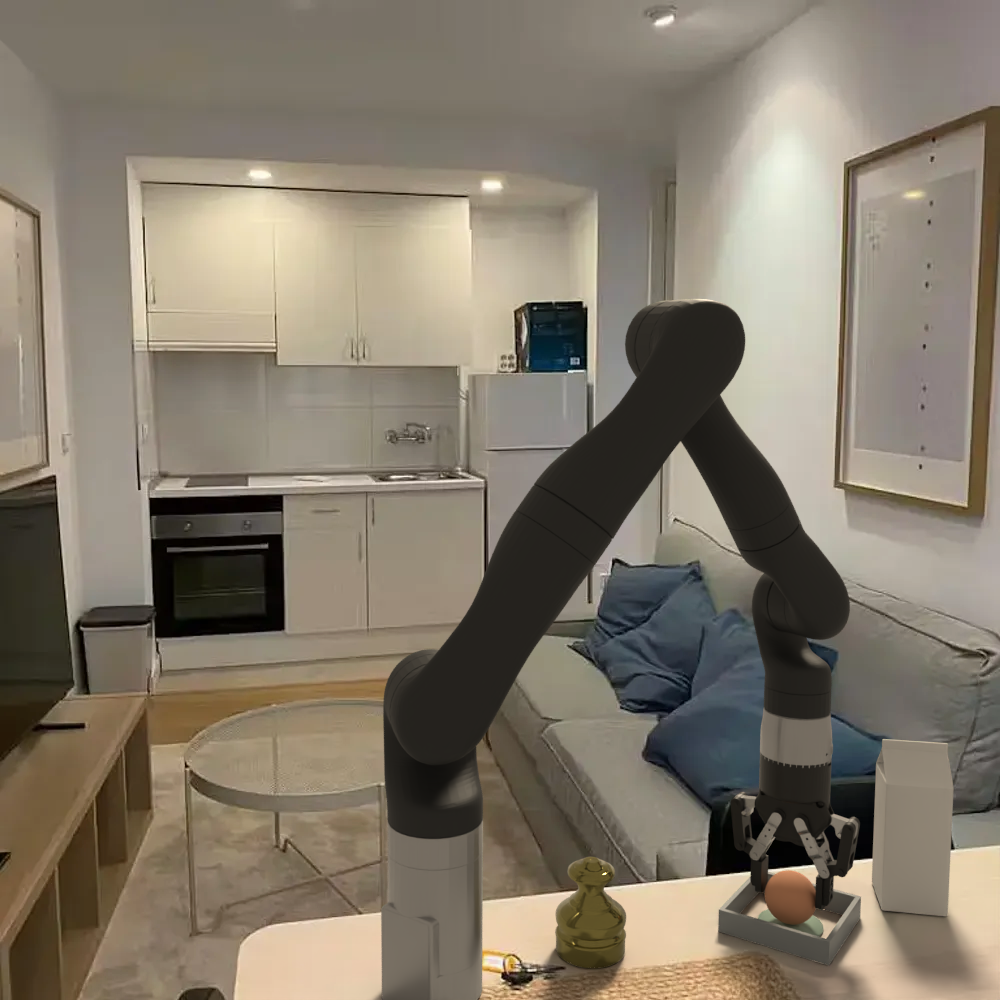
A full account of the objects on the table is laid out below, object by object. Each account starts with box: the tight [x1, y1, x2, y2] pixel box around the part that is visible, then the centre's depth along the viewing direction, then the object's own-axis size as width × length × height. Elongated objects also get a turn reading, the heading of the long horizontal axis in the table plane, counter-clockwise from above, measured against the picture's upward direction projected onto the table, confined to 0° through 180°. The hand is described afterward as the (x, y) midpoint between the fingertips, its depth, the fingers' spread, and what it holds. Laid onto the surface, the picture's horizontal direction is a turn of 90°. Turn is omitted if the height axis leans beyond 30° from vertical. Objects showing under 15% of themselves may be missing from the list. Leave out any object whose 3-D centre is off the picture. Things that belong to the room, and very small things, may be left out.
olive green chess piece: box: [554, 856, 627, 969], centre depth 106 cm, size 7×7×10 cm
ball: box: [764, 869, 816, 925], centre depth 112 cm, size 6×6×6 cm
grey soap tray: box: [717, 871, 862, 966], centre depth 112 cm, size 12×12×2 cm
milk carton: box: [871, 738, 955, 917], centre depth 117 cm, size 7×7×19 cm
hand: (790, 897), depth 112 cm, fingers open, 6 cm apart
